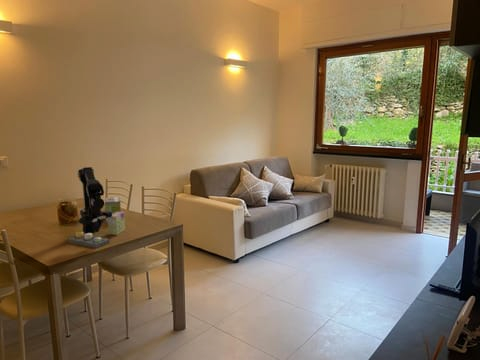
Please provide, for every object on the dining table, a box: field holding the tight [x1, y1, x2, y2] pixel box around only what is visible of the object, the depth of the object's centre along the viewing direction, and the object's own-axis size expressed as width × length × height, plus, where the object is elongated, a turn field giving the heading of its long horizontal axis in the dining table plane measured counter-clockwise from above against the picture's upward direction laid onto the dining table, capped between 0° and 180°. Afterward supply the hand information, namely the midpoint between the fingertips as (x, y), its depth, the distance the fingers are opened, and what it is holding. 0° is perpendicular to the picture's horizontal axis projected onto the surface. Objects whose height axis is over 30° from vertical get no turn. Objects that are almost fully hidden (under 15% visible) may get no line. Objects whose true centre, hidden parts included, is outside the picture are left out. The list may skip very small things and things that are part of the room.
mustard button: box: [75, 230, 85, 239], centre depth 207 cm, size 4×4×3 cm
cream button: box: [84, 233, 93, 240], centre depth 204 cm, size 4×4×3 cm
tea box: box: [104, 196, 122, 224], centre depth 249 cm, size 15×10×15 cm
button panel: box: [67, 235, 111, 249], centre depth 205 cm, size 10×22×2 cm, turn 64°
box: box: [107, 211, 126, 236], centre depth 222 cm, size 10×6×12 cm, turn 171°
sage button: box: [93, 236, 102, 243], centre depth 201 cm, size 4×4×3 cm
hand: (97, 232), depth 200 cm, fingers closed
